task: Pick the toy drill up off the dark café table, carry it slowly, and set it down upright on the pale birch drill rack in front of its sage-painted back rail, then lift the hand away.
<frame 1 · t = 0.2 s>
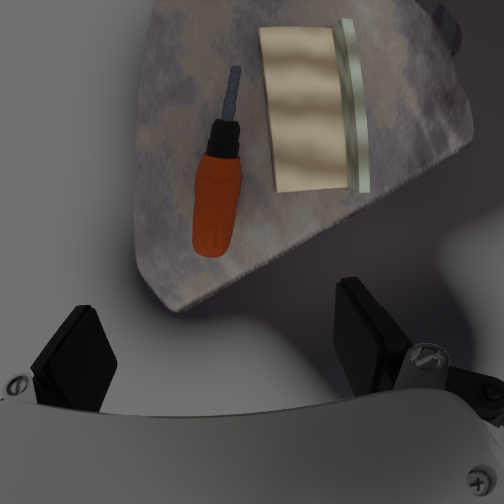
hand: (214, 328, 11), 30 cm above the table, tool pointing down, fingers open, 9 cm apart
drill rack: (309, 105, 34), on the table
toy drill: (225, 157, 37), on the table
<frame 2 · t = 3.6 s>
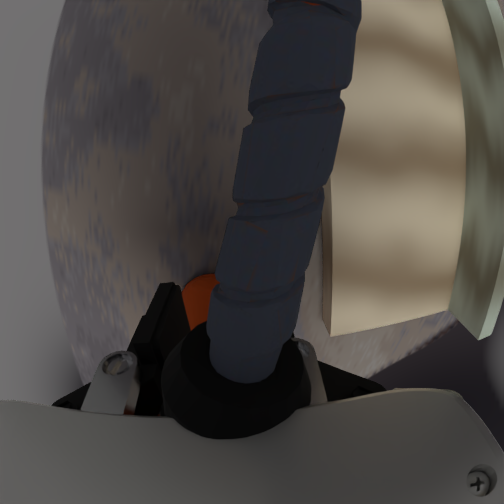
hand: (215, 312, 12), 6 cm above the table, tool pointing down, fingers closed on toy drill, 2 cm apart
drill rack: (401, 149, 15), on the table
toy drill: (222, 260, 18), on the table, touching gripper
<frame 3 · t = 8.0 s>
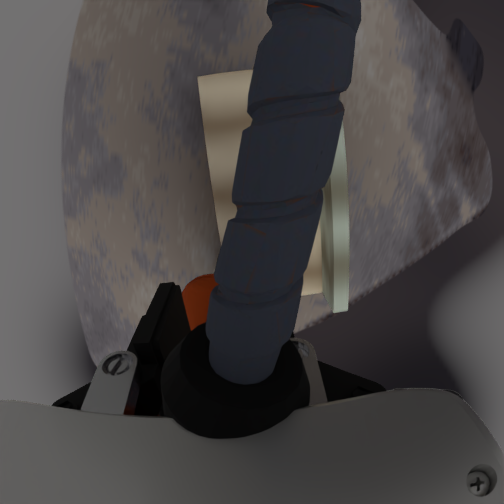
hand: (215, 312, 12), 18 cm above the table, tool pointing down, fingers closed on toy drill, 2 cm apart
drill rack: (272, 185, 28), on the table
toy drill: (223, 261, 18), point 12 cm above the table, touching gripper
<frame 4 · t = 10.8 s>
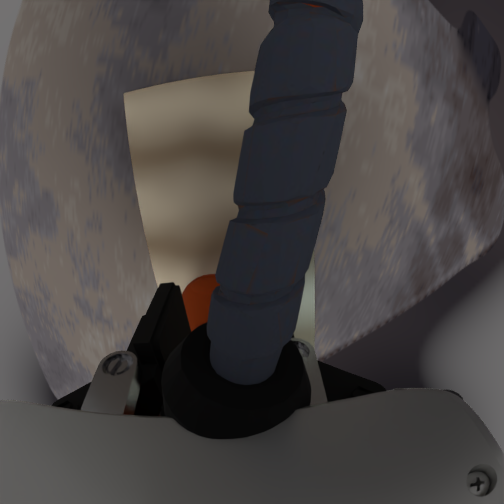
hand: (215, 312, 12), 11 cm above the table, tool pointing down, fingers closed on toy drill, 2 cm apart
drill rack: (224, 228, 22), on the table
toy drill: (223, 261, 18), point 5 cm above the table, touching gripper
when the fingers open (9 cm above the table, at t = 12.3 s): toy drill moves 1 cm, resting on drill rack.
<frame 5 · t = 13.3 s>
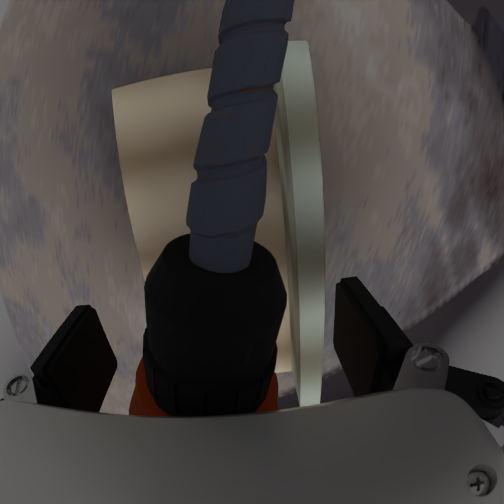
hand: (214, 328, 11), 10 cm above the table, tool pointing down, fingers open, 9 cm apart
drill rack: (223, 238, 20), on the table
toy drill: (221, 239, 18), point 2 cm above the table, touching drill rack
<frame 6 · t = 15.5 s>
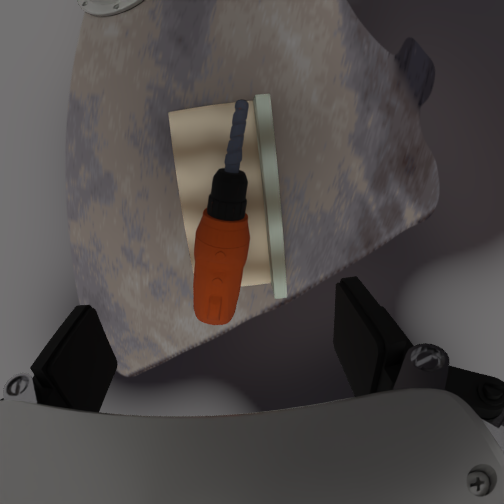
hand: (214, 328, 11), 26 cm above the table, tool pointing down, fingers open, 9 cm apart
drill rack: (229, 196, 35), on the table
toy drill: (228, 195, 33), point 2 cm above the table, touching drill rack
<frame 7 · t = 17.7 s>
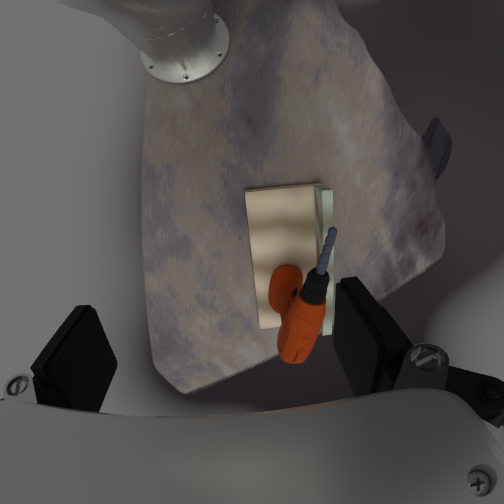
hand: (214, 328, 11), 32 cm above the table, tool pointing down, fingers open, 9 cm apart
drill rack: (288, 258, 45), on the table
toy drill: (290, 259, 43), point 2 cm above the table, touching drill rack
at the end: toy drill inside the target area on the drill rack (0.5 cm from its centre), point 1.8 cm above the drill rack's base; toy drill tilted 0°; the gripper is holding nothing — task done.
